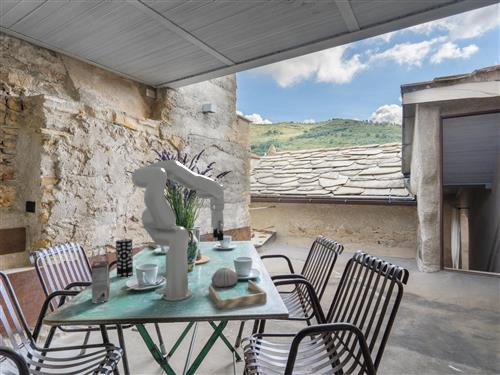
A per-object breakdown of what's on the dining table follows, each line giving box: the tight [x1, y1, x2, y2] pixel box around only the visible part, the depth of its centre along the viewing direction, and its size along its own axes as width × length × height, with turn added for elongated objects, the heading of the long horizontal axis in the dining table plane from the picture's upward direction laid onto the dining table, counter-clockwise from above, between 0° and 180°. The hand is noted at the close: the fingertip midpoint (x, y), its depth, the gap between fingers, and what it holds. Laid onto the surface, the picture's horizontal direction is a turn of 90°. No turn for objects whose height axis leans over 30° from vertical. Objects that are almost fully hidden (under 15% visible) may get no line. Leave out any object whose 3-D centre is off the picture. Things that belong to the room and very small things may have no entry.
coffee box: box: [90, 260, 111, 304], centre depth 129 cm, size 9×6×16 cm
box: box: [208, 279, 268, 310], centre depth 128 cm, size 20×19×4 cm
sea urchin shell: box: [211, 267, 239, 287], centre depth 146 cm, size 13×14×8 cm
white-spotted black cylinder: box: [115, 238, 134, 278], centre depth 164 cm, size 8×8×20 cm
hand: (218, 239), depth 157 cm, fingers open, 9 cm apart
